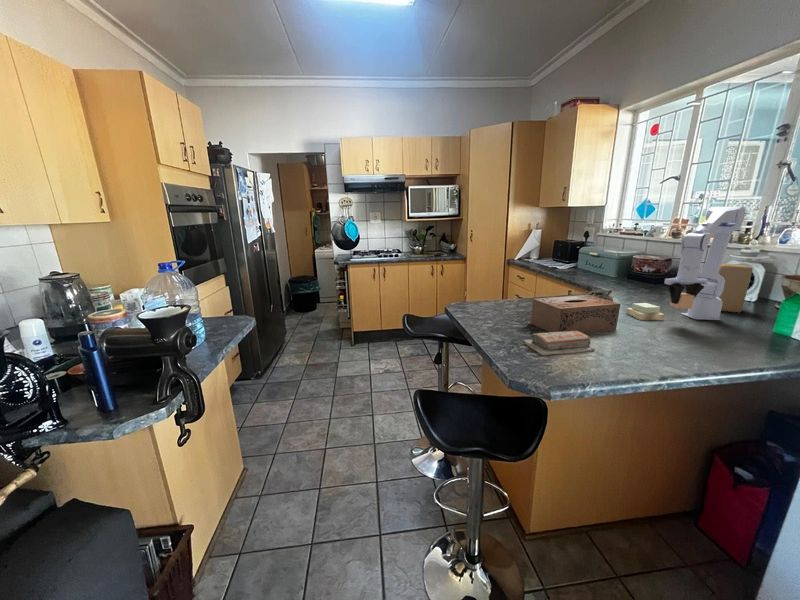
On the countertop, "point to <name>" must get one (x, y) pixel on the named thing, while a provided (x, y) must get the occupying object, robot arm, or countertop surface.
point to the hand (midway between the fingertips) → (681, 303)
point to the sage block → (645, 308)
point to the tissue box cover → (575, 314)
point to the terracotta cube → (684, 301)
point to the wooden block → (734, 286)
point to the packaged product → (560, 342)
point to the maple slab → (645, 315)
